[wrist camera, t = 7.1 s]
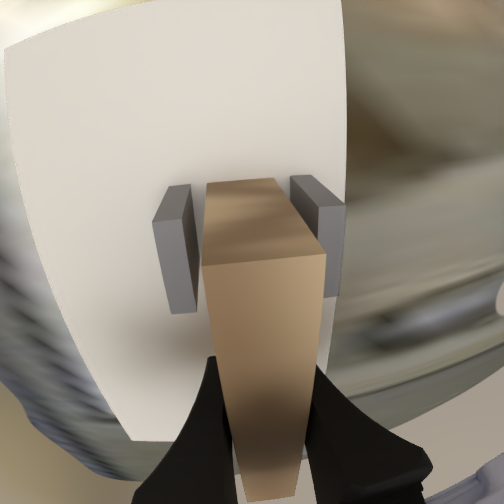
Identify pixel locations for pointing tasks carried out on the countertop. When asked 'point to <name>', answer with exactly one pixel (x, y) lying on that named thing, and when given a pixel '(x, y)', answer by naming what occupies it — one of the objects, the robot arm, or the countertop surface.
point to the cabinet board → (170, 172)
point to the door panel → (263, 325)
